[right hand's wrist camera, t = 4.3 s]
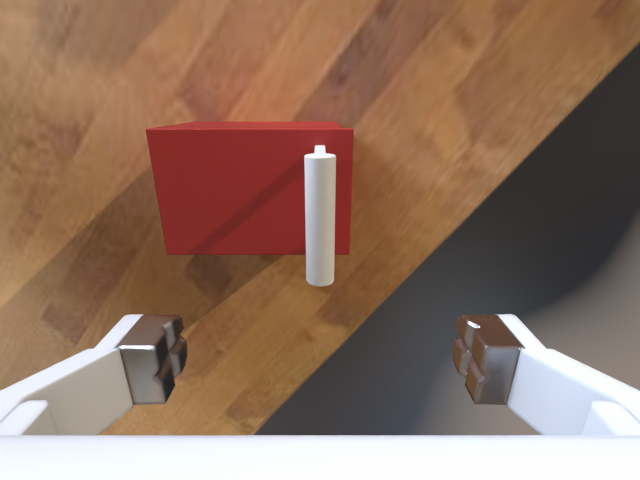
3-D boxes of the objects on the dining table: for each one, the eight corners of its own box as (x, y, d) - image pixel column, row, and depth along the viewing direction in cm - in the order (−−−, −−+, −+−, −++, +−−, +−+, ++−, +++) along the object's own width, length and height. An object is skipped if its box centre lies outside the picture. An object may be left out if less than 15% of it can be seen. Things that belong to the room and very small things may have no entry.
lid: (352, 128, 25) (365, 138, 18) (348, 250, 29) (358, 300, 21) (150, 128, 25) (81, 138, 18) (171, 250, 29) (120, 301, 21)
